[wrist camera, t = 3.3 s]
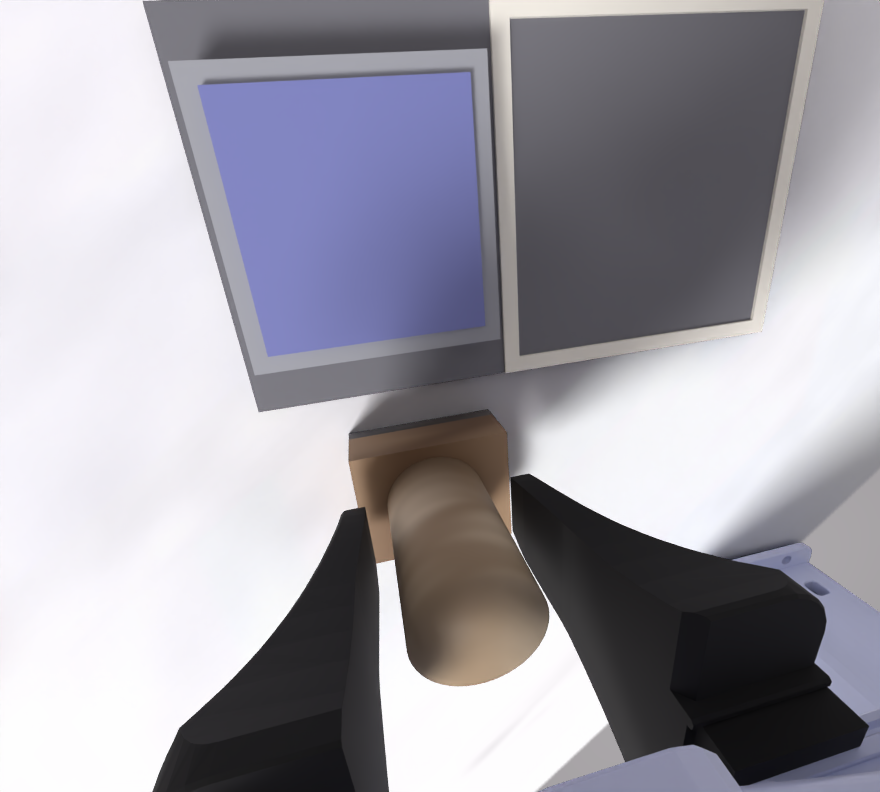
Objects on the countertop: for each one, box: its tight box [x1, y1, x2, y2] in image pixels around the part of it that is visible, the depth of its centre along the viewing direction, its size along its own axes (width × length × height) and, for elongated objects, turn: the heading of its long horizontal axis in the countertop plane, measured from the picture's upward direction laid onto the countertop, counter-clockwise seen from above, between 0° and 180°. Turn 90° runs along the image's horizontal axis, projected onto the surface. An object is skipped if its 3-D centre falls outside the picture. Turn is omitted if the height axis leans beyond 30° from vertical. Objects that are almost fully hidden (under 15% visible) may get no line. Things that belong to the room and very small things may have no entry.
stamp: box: [349, 409, 549, 686], centre depth 12 cm, size 5×4×7 cm
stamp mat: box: [143, 0, 824, 412], centre depth 12 cm, size 18×10×2 cm, turn 96°
